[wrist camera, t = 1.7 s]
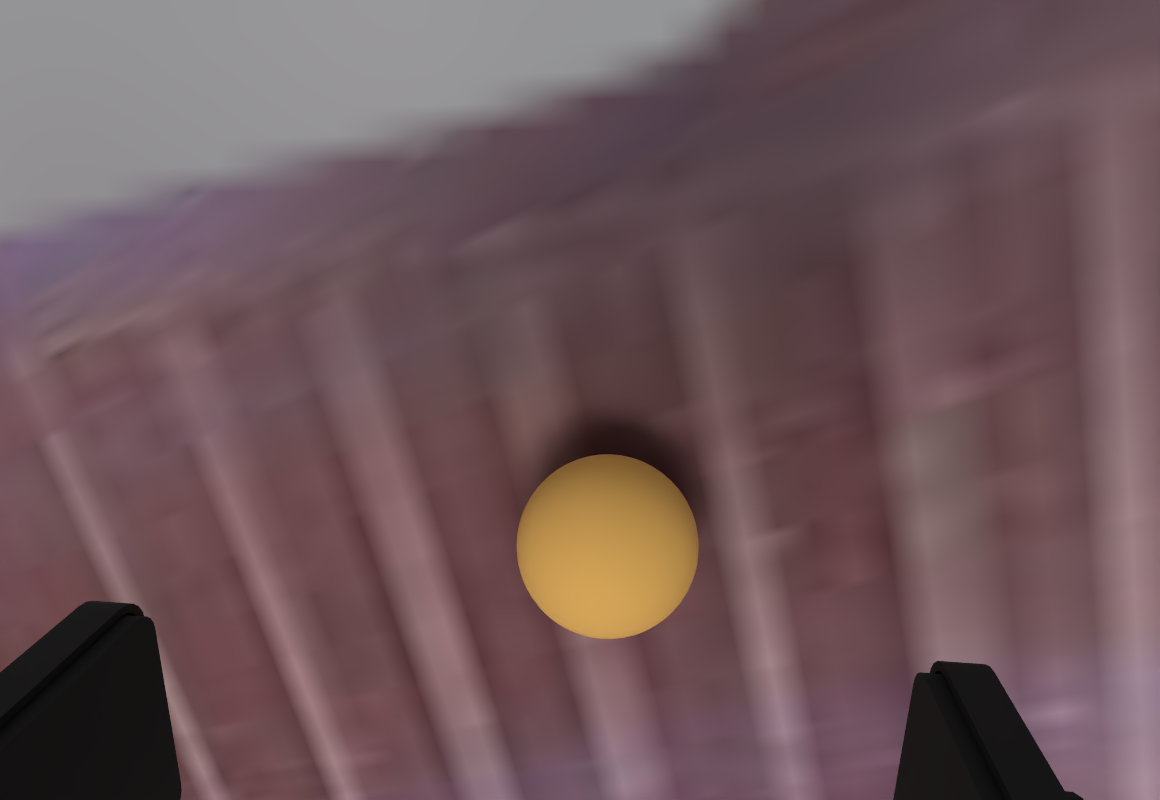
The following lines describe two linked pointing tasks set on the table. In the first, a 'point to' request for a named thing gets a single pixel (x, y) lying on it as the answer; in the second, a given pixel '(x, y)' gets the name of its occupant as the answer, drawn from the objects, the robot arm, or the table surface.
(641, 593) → the ball
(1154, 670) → the table surface
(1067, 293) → the table surface
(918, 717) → the robot arm
